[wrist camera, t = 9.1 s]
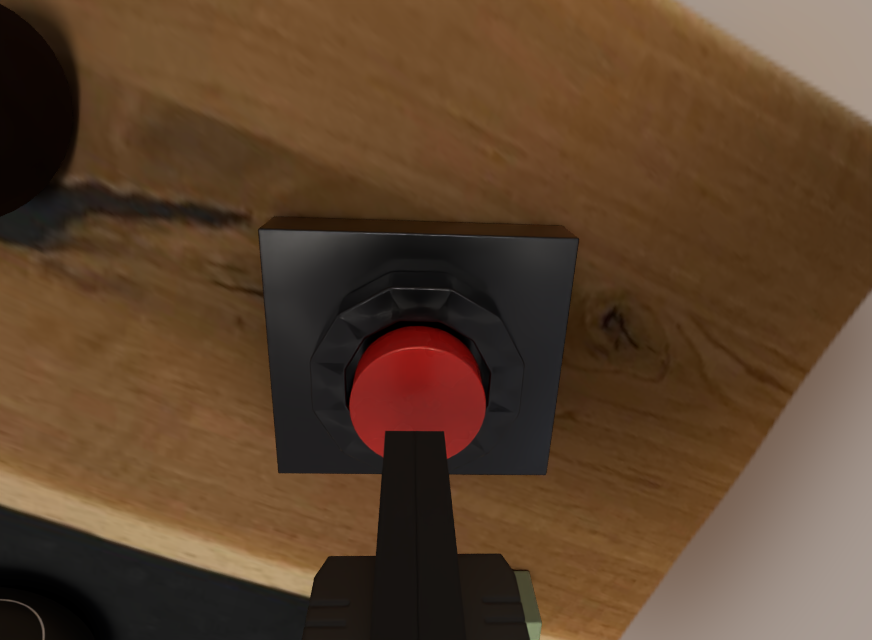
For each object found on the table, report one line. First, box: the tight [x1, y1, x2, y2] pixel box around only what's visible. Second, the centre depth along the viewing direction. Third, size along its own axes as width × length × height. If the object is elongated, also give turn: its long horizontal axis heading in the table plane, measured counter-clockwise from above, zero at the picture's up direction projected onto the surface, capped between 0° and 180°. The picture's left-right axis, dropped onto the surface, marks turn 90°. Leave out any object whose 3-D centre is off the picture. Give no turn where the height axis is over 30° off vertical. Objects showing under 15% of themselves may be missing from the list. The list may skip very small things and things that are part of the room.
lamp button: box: [349, 326, 486, 459], centre depth 18 cm, size 4×4×2 cm
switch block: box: [258, 217, 579, 475], centre depth 20 cm, size 11×10×4 cm
